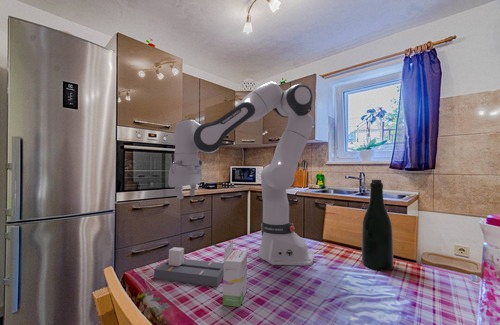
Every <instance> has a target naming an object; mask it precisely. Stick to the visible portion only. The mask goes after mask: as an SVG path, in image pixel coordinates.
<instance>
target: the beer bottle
mask: <svg viewBox="0 0 500 325" xmlns="http://www.w3.org/2000/svg"><path fill="white" fill-rule="evenodd" d="M369 187H370V188H369V189H370V195H369V202H368V206H367V209H366V210H365V213H364V216H363V220H362V225H361V226H362V228H361V230H362V231H361V236H362V237H361V263H362V264H363V265H364V266H366V267H367V266H368V268H369V267H370V268H369V269H372V268H373V270H376V271H381V270H383V271H386V270H388V271H391V270H393V268H394V243H393V242H394V239H393V238H394V236H393V225H392V220H391V218H390V216H389V213H388V211H387V209H386V206H385V200H384V183H383V182H382V180H381V179H377V178H376V179H371V182H370V184H369ZM383 271H382V272H383Z"/></svg>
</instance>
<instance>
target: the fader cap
mask: <svg viewBox="0 0 500 325" xmlns="http://www.w3.org/2000/svg"><path fill="white" fill-rule="evenodd" d="M184 259H185V248H184V247H179V246H178V247H175V246H173V247H172V248H169V249H168V260H169V265H174V266H180V265H181V264H182V263H184Z"/></svg>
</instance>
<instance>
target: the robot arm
mask: <svg viewBox="0 0 500 325" xmlns="http://www.w3.org/2000/svg"><path fill="white" fill-rule="evenodd" d="M312 103H313V91H312V89H311V88H310V87H309V86H308V85H306V84H303V83H298V84H294V85H291V87H289V88H288V89H286V90H283V89H282V88H281V86H279V84H278V83H276V82H274V81H268V82H266V83H264V84H261V85H259V86H258V87H256V88H255V89H253V90H252V91H250V92H249V93H248V94H246V96H244V97H243V98H242V99H241V100H240V101H239V103H238V104H236V106H235V107H234V108H232V109H231V110H230V111H229V112H227V113H225V114H224V115H223V116H221V117H219V118H218V119H216V120H214V121H210V122H206V123H202V124H200V123H199V122H197V121H196V120H195V119H193V118H192V119H182V120H180V121H178V122H177V123H176V124H175V127H174V140H173V143H174V146H175V148H174V160H173V162H171V165H170V168H169V172H168V181H167V182H168V183H167V184H168V186H169V187H170V188H174V190H175V193H176V195H177V196H176V199H177V200H183V199H184V193H183V187H186V186H189V187H190V191H189V192H188V193H189V196H190V197H193V196H194V197H195V196H196V189H197V185H199V184H201V183H202V177H203V175H202V174H203V171H202V170H203V169H202V167H203V161H202V159H201V158H200V157H199V152H203V153H205V154H213V153H215V152H217V151H218V150H219V149H220V147H221V145H222V144H223V142H224V140H225V138H226V137H227V136H228V135H229V134H230V133H232V132H233V131H235V130H236V129H237V128H239V127H240V126H241V125H243V124H244V123H248V122H249V123H254V122H256V121H259V120H260V119H262V118H264V117H265V116H266V115H267V114H268V113H270V112H271V111H274V112H275V113H276V114H277V115H278V116H279V117H282V118H288V119H287V120H288V121H287V125H286V127H285V129H284V131H283V132H282V134H281V137H280V139H279V140H278V142H277V145H276V148H275V151H274V154H273V157H272V160H271V161H270V164H267V165H265V166H264V167H263V169H262V170H261V173H260V180H261V182H260V183H261V184H260V185H261V197H262V221H261V227H260V230H261V233H260V234H261V242H260V246H259V252H258V257H259V258H260V259H261V260H263V261H266V262H268V263H269V264H270V265H271V266H272V265H273V266H311V265H312V264H314V256H313V253H312V252H310V250H308V245H307V243H306V241H305V240H304V238H302V237H301V236H299V235H298V234H297V233H296V232H295V230H296V228H295V225H294V223H292V222H290V203H289V202H290V201H289V199H288V193H287V189H289V188H290V187H291V186H293V184H294V182H295V178H296V176H295V174H296V172H297V168H298V165H299V162H300V158H301V156H302V154H303V152H304V149H305V147H306V146H307V144H308V141H309V139H310V136H311V134H312V130H313V128H314V125H315V124H314V123H315V121H314V117H313V116H312V115H311V114H309V113H310V112H311V111H312V105H313V104H312Z"/></svg>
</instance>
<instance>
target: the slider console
mask: <svg viewBox="0 0 500 325" xmlns="http://www.w3.org/2000/svg"><path fill="white" fill-rule="evenodd" d="M153 272H154V273H153V279H155V280H160V281H161V280H162V281H163V280H164V281H168V282H176V283H183V284H185V283H186V284H192V285H199V286H207V287H215V288H218V286H219V285H220V284H221V282H222V281H223V276H224V262H215V261H207V260H198V259H197V260H196V259H187V258H184V263H182V264H181V265H180V266H174V265H169V259H167V260H166V261H164V262H163V263H161V264H160V265H159V266H157V267H156V268H154V270H153Z"/></svg>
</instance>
